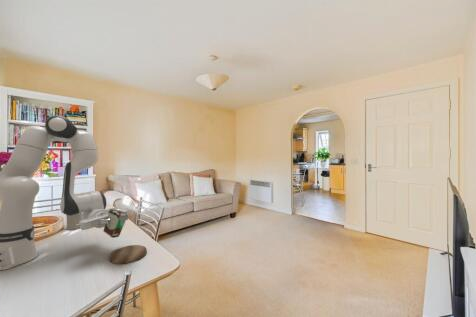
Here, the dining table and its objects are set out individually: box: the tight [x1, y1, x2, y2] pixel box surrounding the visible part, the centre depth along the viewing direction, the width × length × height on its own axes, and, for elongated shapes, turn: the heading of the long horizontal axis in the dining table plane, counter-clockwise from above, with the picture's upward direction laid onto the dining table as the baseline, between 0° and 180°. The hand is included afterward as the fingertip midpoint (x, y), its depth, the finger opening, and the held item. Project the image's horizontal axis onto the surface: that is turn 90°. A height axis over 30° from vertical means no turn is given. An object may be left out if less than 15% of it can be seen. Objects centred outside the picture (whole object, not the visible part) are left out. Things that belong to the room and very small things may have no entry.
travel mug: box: [66, 212, 83, 231], centre depth 142 cm, size 8×8×18 cm
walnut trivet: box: [108, 244, 148, 265], centre depth 104 cm, size 16×16×2 cm
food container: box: [103, 208, 129, 239], centre depth 100 cm, size 12×6×10 cm, turn 51°
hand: (111, 220), depth 99 cm, fingers closed on food container
